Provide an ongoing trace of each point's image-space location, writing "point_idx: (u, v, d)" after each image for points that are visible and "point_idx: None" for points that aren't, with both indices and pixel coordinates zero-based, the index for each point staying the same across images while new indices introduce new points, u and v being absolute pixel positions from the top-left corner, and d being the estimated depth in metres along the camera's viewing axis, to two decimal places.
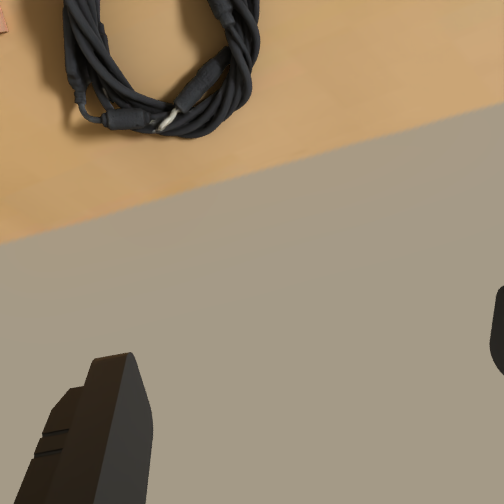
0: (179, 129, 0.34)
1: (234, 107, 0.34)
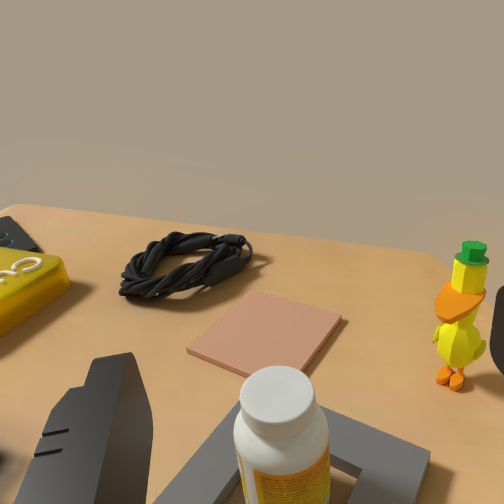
0: None
1: None
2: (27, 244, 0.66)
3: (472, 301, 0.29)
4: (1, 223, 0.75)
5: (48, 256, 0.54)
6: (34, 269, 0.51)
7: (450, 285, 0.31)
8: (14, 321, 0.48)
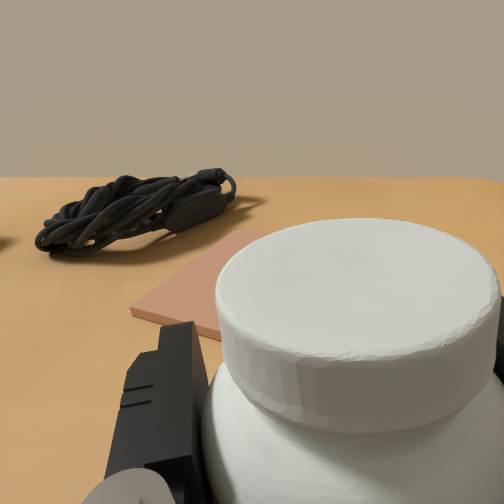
0: None
1: None
2: None
3: None
4: None
5: None
6: None
7: None
8: None
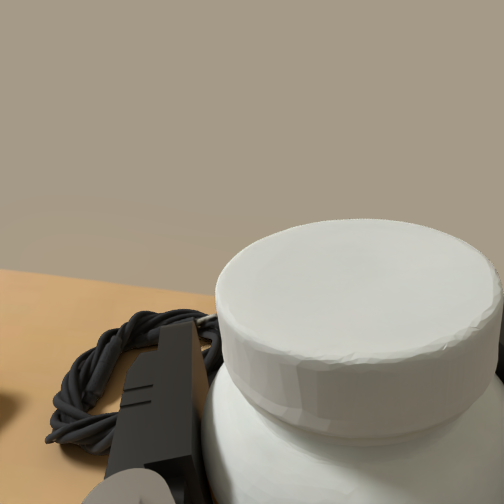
0: None
1: None
2: None
3: None
4: None
5: None
6: None
7: None
8: None
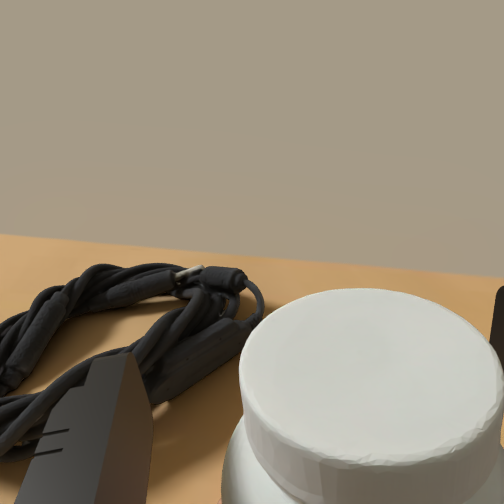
0: None
1: None
2: None
3: None
4: None
5: None
6: None
7: None
8: None
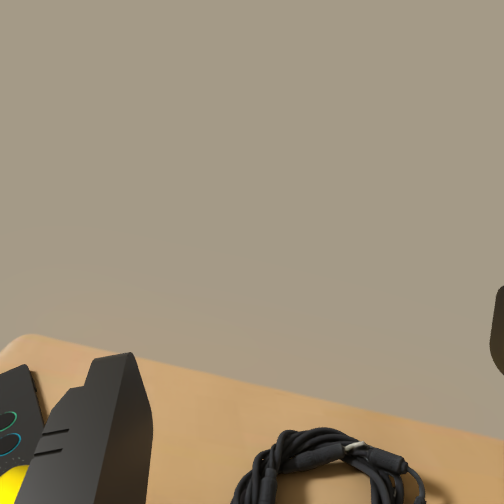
0: (351, 440, 0.41)
1: (303, 431, 0.42)
2: None
3: None
4: (13, 383, 0.55)
5: None
6: None
7: None
8: None
